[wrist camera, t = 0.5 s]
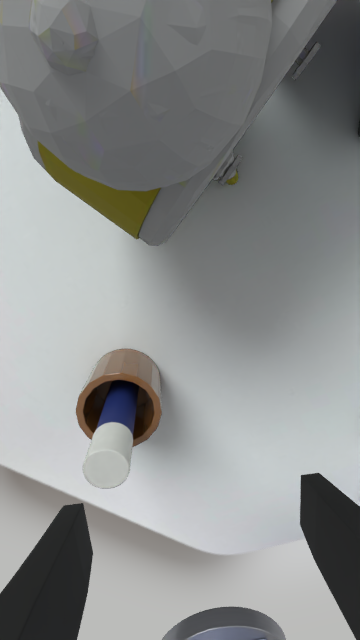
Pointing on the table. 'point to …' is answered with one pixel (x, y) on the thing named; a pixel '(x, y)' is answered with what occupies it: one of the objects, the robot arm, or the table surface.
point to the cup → (125, 368)
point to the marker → (113, 438)
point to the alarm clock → (147, 93)
